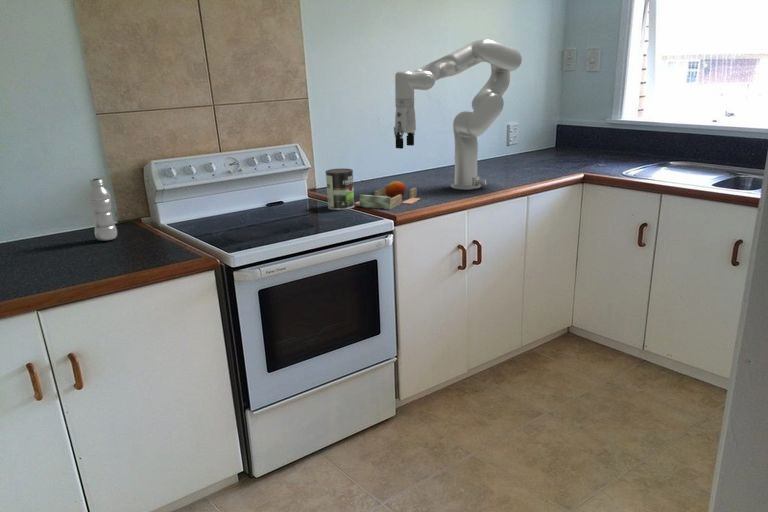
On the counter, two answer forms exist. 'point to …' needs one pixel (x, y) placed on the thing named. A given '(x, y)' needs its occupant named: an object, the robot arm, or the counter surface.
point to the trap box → (384, 199)
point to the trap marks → (409, 201)
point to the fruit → (395, 189)
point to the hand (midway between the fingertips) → (404, 146)
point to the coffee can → (340, 189)
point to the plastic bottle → (102, 210)
